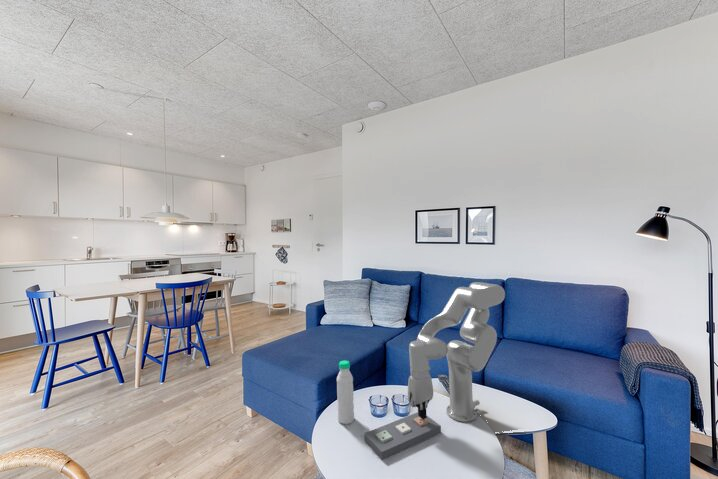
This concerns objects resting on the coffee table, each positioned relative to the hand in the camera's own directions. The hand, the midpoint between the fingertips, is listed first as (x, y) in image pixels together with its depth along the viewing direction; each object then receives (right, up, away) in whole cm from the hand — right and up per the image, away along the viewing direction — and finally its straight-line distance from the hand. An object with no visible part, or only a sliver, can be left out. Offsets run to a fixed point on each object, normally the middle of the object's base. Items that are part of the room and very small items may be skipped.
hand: (422, 417), depth 122 cm
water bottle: (-31, -6, +8) cm, 33 cm away
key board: (-8, -5, -5) cm, 11 cm away
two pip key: (-16, -5, -9) cm, 19 cm away
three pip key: (-1, -4, 0) cm, 5 cm away
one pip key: (-9, -5, -5) cm, 11 cm away
